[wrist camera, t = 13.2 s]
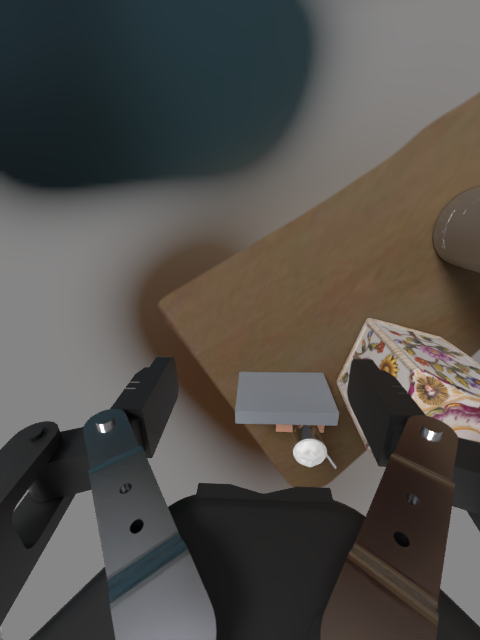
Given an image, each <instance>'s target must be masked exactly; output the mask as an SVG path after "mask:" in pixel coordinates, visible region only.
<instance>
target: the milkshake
mask: <svg viewBox="0 0 480 640" xmlns="http://www.w3.org/2000/svg"><path fill="white" fill-rule="evenodd" d="M292 429H293V455H294V457H295V459H296V460H297V462H299V463H300V464H302V465H305V466H307V467H313V466H315V465H318V464H320V463H322V462H323V461H324V459H325V458H326V457H327V458H328V460H329V461H330V462H331V464H332V465H333V467H334V468H335V469H336V465H335V464H334V463H333V461H332V460H331V459H330V457H329V456H328V455H327V448H326V446H325V444H324V441H323V439H322V436H321V434H320V432H319V429H318V426H317V425H292Z"/></svg>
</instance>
